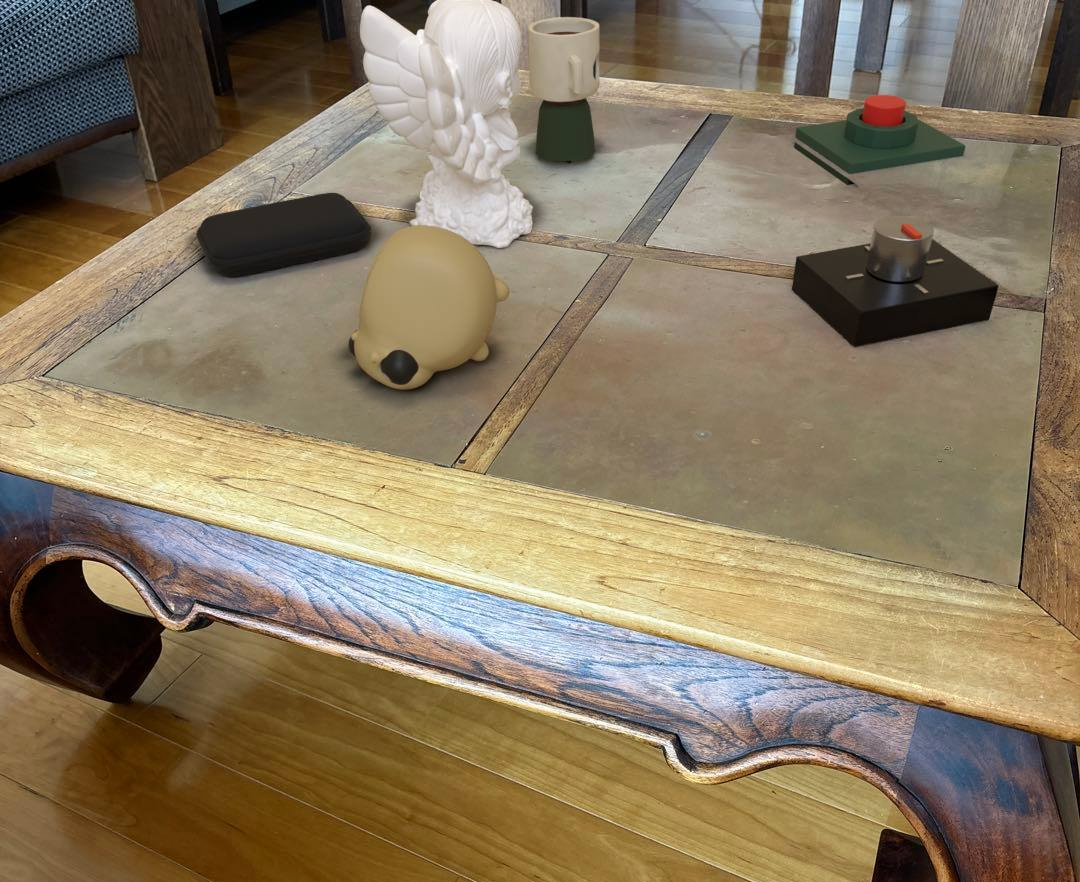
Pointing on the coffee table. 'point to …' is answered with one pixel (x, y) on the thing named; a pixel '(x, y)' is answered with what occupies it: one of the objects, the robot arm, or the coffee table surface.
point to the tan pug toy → (425, 307)
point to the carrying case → (282, 234)
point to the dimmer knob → (899, 248)
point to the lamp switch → (875, 144)
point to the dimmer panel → (892, 294)
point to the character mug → (564, 85)
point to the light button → (883, 110)
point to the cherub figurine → (454, 111)
